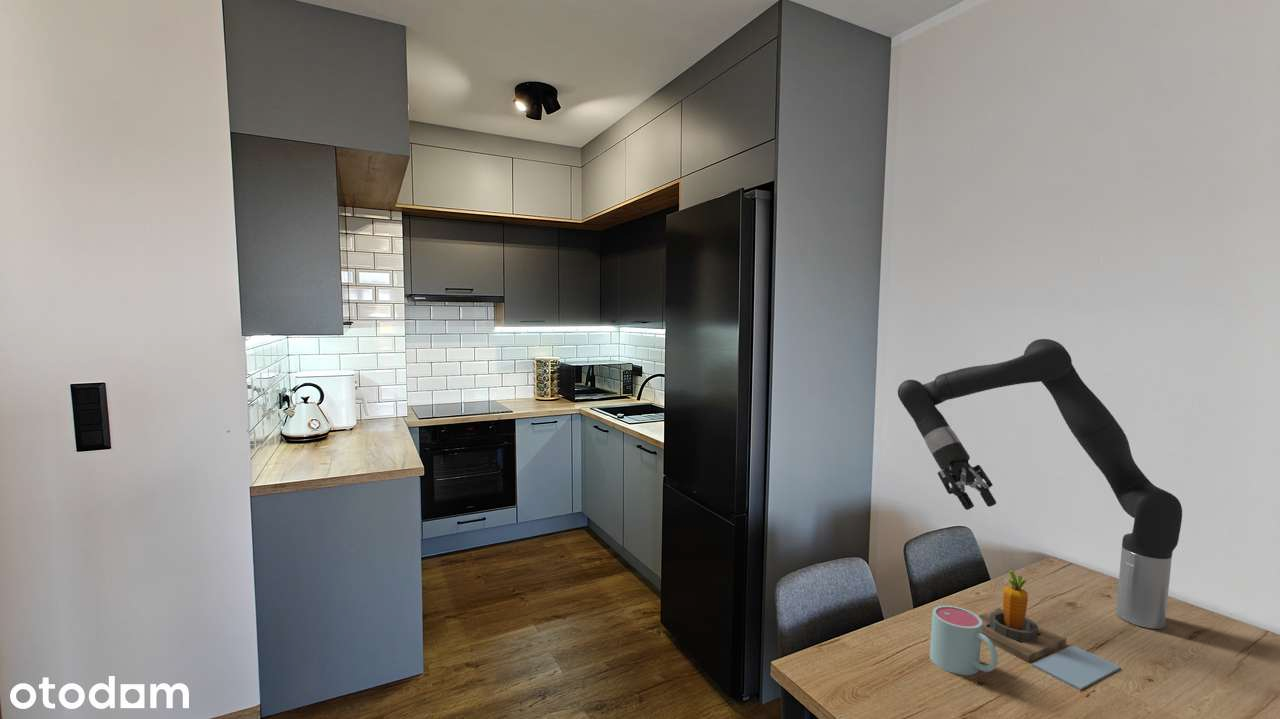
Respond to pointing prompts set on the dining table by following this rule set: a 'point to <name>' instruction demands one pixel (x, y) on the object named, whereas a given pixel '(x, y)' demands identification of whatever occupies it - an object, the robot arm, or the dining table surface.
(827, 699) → the dining table surface
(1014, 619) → the carrot
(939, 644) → the mug
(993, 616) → the ring stand
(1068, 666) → the slate mat
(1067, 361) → the robot arm
